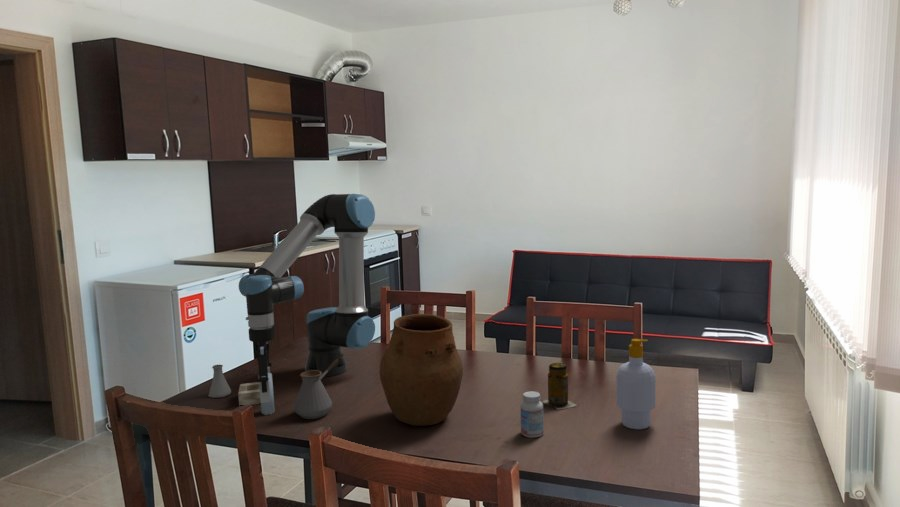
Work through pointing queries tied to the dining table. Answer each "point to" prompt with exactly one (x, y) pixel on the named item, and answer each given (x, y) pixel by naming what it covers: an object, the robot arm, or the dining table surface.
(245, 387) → the socket block
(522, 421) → the pill bottle
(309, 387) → the coffee pot
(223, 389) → the flask
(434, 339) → the pot
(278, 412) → the dining table surface
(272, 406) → the peg
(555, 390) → the condiment
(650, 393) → the soap bottle
